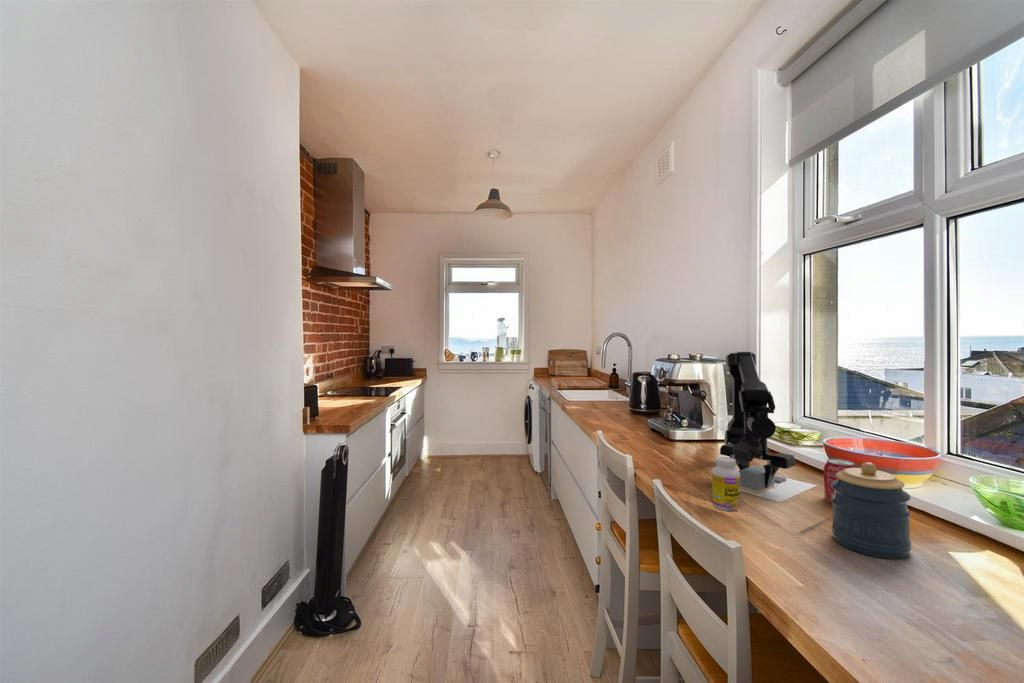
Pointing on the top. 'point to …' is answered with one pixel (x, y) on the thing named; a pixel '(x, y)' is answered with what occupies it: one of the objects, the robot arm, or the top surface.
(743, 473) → the block
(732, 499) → the supplement bottle
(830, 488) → the soda can
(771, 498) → the board
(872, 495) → the canister
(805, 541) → the top surface
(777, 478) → the graphite chip
